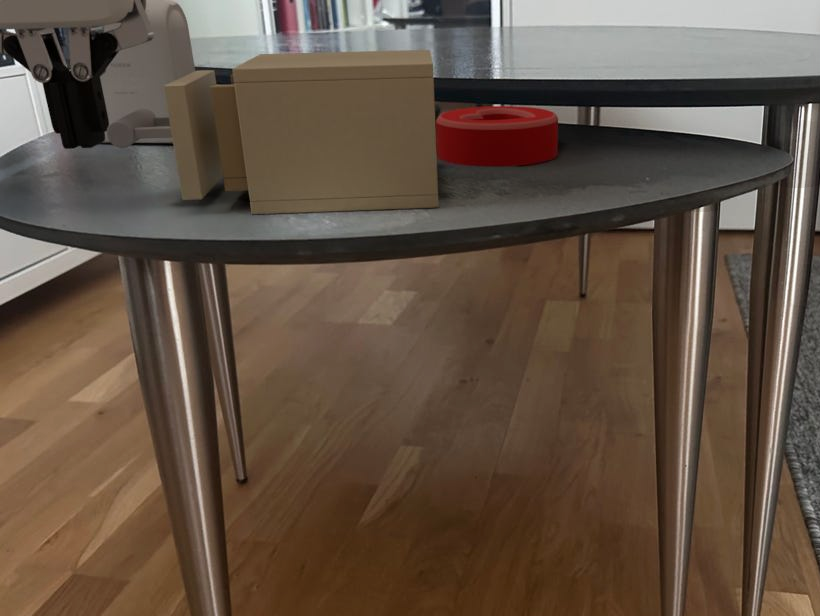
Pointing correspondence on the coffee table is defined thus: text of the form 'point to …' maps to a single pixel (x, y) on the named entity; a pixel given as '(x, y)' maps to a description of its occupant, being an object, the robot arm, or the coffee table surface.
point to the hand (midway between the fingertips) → (85, 144)
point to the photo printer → (149, 66)
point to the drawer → (194, 133)
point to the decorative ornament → (497, 136)
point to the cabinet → (338, 131)
